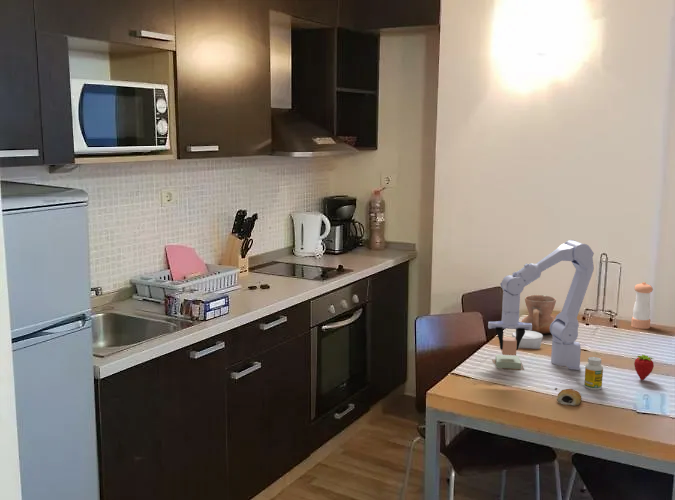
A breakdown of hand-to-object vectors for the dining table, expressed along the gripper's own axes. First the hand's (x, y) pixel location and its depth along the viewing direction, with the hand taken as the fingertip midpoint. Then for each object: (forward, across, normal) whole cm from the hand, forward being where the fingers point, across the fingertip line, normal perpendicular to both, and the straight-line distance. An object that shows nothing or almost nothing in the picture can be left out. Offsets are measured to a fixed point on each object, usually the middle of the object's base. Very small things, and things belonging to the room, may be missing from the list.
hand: (508, 348), depth 240 cm
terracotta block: (+1, 0, 0) cm, 1 cm away
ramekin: (+7, +10, +25) cm, 28 cm away
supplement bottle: (+7, +25, -15) cm, 30 cm away
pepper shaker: (+7, +62, +61) cm, 87 cm away
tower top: (+6, 0, 0) cm, 6 cm away
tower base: (+8, 0, 0) cm, 8 cm away
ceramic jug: (+7, +18, +47) cm, 51 cm away
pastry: (+7, +15, -28) cm, 32 cm away
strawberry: (+7, +43, -6) cm, 44 cm away
